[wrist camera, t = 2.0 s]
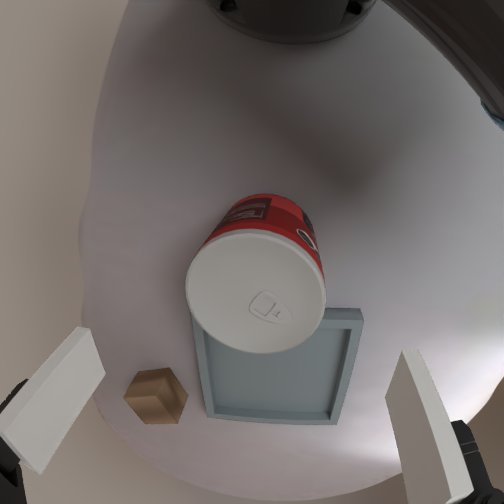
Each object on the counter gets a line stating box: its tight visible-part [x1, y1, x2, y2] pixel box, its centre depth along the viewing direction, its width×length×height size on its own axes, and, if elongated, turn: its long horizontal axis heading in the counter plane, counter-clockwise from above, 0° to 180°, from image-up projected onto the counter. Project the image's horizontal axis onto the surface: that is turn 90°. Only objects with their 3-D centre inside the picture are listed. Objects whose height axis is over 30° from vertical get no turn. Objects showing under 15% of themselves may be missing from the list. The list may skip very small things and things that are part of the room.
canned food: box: [185, 194, 326, 354], centre depth 22 cm, size 8×8×11 cm
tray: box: [191, 308, 364, 425], centre depth 31 cm, size 16×16×2 cm
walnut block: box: [123, 368, 188, 424], centre depth 33 cm, size 5×5×5 cm
